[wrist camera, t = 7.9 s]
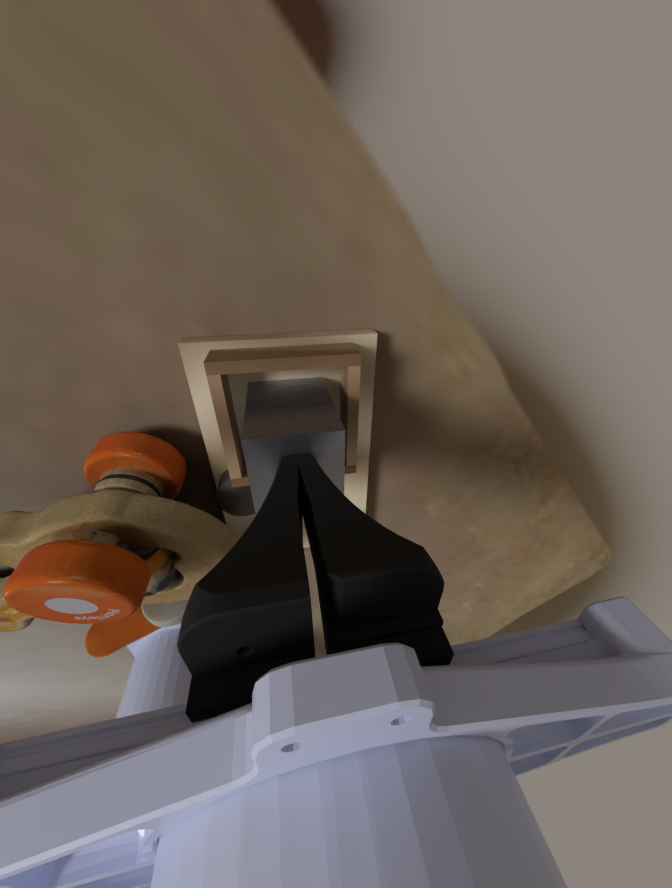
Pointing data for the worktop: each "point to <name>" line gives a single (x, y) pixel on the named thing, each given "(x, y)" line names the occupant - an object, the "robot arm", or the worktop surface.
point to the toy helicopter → (112, 548)
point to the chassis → (278, 358)
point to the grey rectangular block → (290, 430)
